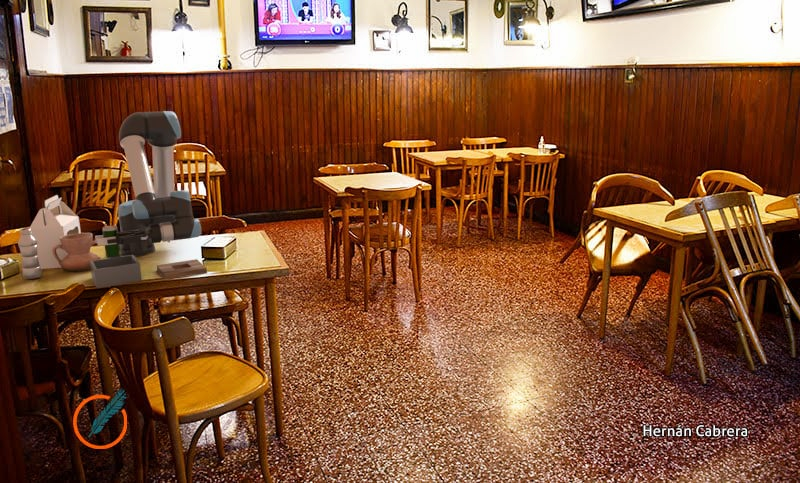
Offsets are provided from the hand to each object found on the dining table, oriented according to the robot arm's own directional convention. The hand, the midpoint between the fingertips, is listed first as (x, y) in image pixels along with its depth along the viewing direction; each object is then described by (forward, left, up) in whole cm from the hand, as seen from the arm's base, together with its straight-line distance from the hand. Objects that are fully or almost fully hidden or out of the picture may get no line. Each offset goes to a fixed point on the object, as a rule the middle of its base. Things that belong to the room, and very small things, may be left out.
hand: (96, 241), depth 250 cm
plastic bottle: (-21, -23, -16) cm, 35 cm away
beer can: (0, +5, -7) cm, 9 cm away
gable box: (-44, -12, -16) cm, 48 cm away
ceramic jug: (-26, -6, -16) cm, 31 cm away
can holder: (+3, +29, -16) cm, 34 cm away
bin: (0, +5, -16) cm, 17 cm away
